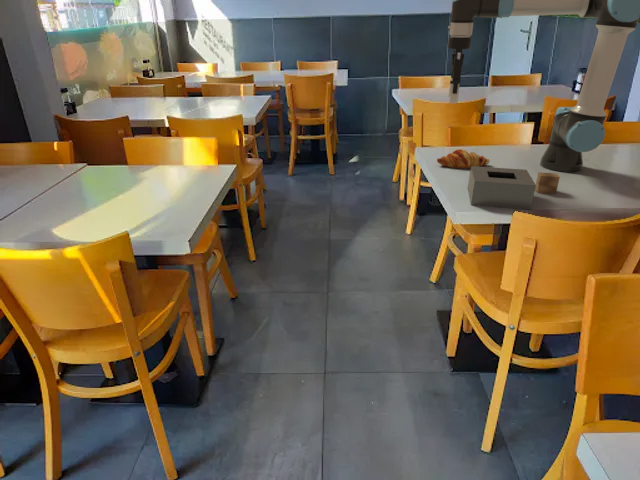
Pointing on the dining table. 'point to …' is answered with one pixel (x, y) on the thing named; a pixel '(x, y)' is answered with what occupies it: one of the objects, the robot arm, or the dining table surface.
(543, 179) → the brown block
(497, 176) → the box
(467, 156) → the croissant
